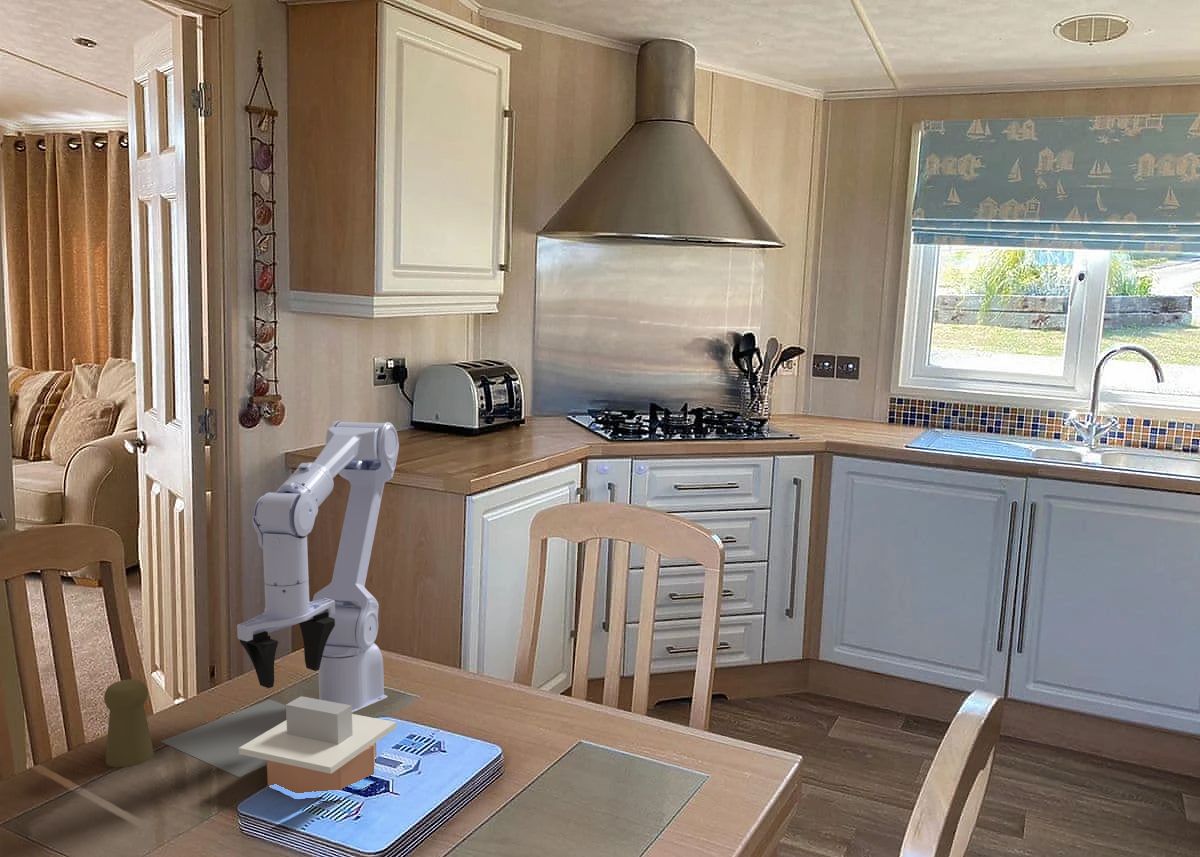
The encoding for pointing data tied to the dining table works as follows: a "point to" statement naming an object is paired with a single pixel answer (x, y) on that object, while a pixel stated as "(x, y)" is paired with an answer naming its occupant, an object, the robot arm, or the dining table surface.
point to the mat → (231, 737)
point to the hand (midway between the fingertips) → (290, 677)
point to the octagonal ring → (322, 774)
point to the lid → (318, 736)
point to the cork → (127, 724)
